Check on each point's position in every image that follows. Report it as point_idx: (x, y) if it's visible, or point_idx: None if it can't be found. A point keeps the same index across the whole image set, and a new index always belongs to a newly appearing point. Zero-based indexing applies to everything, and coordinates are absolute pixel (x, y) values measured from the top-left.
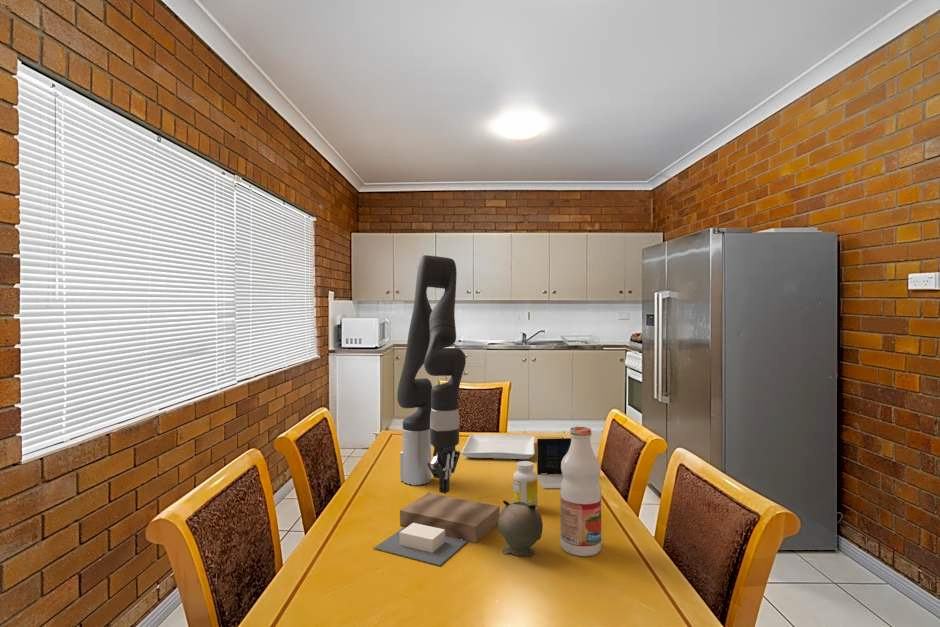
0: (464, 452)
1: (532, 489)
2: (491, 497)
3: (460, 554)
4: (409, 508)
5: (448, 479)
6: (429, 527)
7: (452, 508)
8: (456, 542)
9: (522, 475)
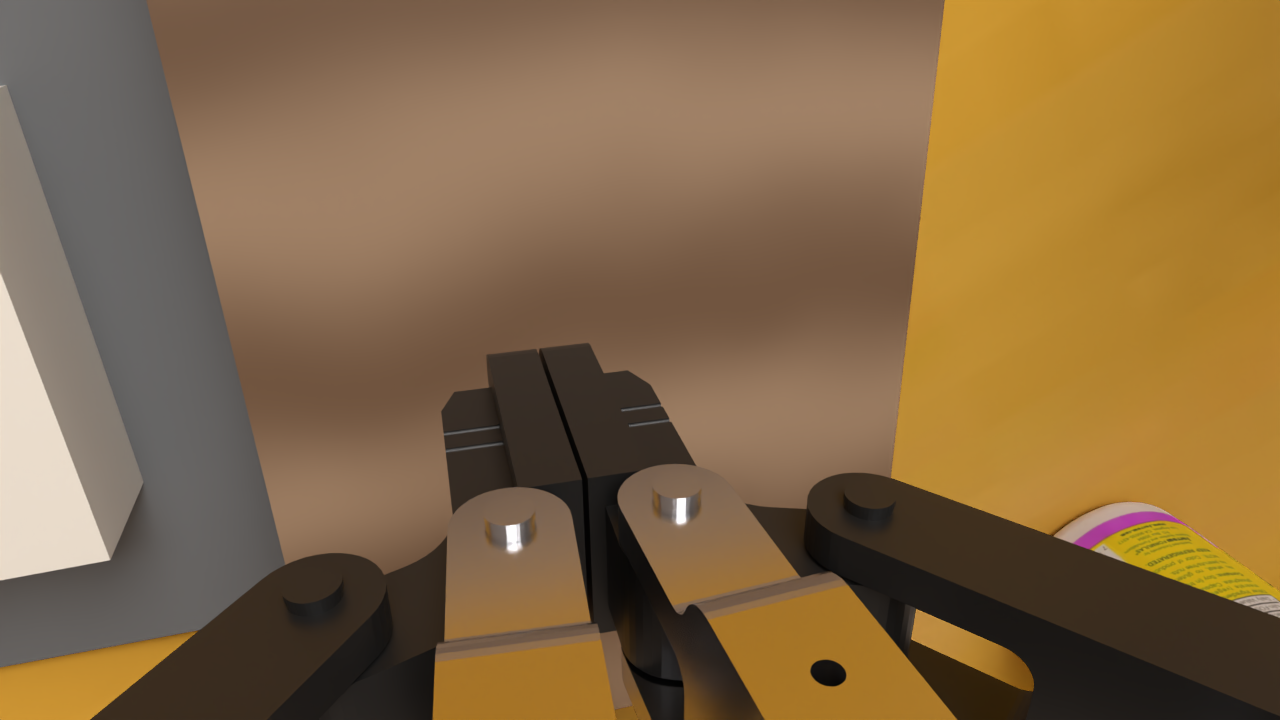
0: None
1: None
2: (1272, 228)
3: (72, 687)
4: None
5: (605, 619)
6: (6, 395)
7: (608, 336)
8: (215, 561)
9: None
